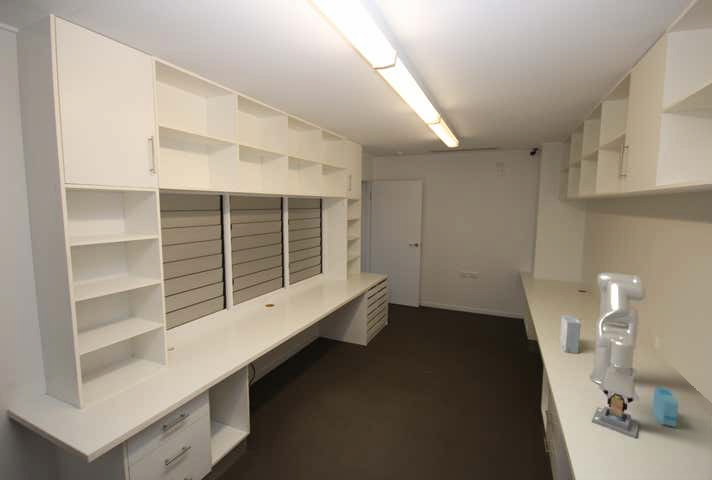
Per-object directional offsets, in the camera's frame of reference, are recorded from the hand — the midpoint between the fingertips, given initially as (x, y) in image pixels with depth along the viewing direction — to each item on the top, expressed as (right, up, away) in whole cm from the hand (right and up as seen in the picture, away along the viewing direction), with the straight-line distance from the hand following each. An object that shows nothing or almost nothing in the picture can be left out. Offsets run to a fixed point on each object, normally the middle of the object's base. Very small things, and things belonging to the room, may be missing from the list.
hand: (616, 407), depth 149 cm
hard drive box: (+26, +2, +77) cm, 81 cm away
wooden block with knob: (0, -2, 0) cm, 2 cm away
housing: (0, -7, +1) cm, 7 cm away
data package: (+23, -7, +4) cm, 25 cm away
